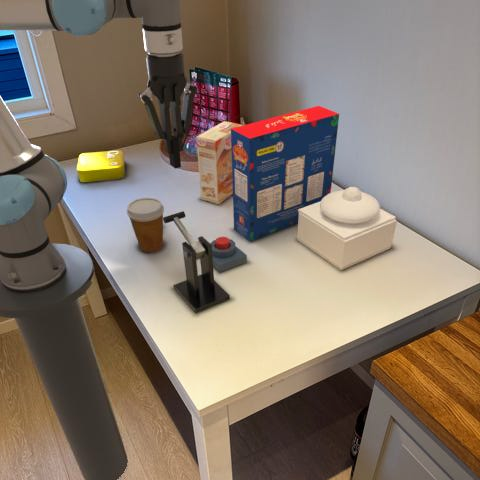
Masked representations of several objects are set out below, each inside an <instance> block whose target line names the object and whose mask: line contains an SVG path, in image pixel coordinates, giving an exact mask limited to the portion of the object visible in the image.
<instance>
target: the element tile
mask: <svg viewBox="0 0 480 480" xmlns="http://www.w3.org/2000/svg"><path fill="white" fill-rule="evenodd" d="M125 167H126V161H125V156H124V152H123V150H120V149H117V150H116V149H115V150H105V151H104V150H103V151H94V152H82V153H81V154H79V155H78V159H77V164H76V172H77V176H78V180H79V182H81V183H94V182H104V181H114V180H116V181H117V180H121V179H123V178H124V177H125V176H126V170H125V169H126V168H125Z"/></svg>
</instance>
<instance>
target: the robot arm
mask: <svg viewBox="0 0 480 480" xmlns="http://www.w3.org/2000/svg"><path fill="white" fill-rule="evenodd" d="M137 18H138V19H140V21H141V28H142V35H143V44H144V51H145V52H146V55H145V60H146V70H147V75H148V81H147V88H146V89H145V90H144V91H143V92H139V93H138V94H137V96H138V99H139V100H140V101H141V102H142V103H143V106H144V108H145V111H146V113H147V116H148V119H149V121H150V124H151V127H152V130H153V133H154V135H155V136H156V137H158V138H159V139H160V140H163V144H164V151H165V152H166V154H168V158H169V165H170V166H171V167H173V169H180V168H182V161H181V152H183V150H184V147H183V146H184V145H183V139H184V138H185V134H189V133H190V130H191V121H192V116H193V108H194V99H195V97H196V94H197V92H198V87H197V86H196V85H194V84H193V83H190V82H188V79H187V77H186V75H185V71H186V70H185V57H184V54H183V52H182V51H183V50H184V45H183V33H182V32H183V30H182V20H181V5H180V0H0V31H30V32H31V31H35V32H38V31H39V32H40V31H41V32H43V31H44V32H45V31H46V32H47V31H48V32H67V33H68V34H70V35H71V36H75V37H86V36H91V35H93V34H96V33H97V32H98V31H99V30H100V29H101V28H103V27H104V26H105V25H106V24H108V23H109V22H111V21H112V20H115V19H137ZM183 93H184V94H183ZM182 95H183V97H182ZM153 96H154V97H155V99H156V100H157V104H158V107H159V116H158V112H157V110H156V107H155V104H154V103H153V99H154V98H153ZM181 97H182V99H181ZM159 117H160V118H159ZM67 178H68V177H67V174H66V172H65V170H64V168H63V166H62V165H61V164H60V162H58V160H56V159H55V158H52V157H51V156H50V155H47V154H45V153H44V151H43V150H42V148H41V147H40V146H37V145H35V144H32V143H31V142H30V141H29V139H28V137H27V136H26V134H25V133H24V132H23V130H22V128H21V127H20V125H19V124H18V122H17V120H16V119H15V117H14V115H13V114H12V112H11V110H10V109H9V108H8V105H7V104H6V102H5V101H4V100H3V98H2V96H1V95H0V279H1V281H2V284H3V286H4V287H5V288H6V289H8V290H10V291H13V292H19V293H29V292H35V291H39V290H43V289H46V288H48V287H50V286H52V285H54V284H55V283H57V282H58V281H59V280H61V279H62V277H63V276H64V275H65V273H66V265H65V261H64V259H63V257H62V256H61V255H60V253H59V252H58V251H57V250H56V248H55V247H54V246H53V243H52V241H51V240H50V237H49V234H48V231H47V227H46V225H45V221H46V220H47V218H48V217H49V215H50V214H51V213H52V212H53V210H54V209H55V208H56V206H57V205H58V204H59V203H61V201H62V200H63V198H64V195H65V193H66V191H67V188H68V179H67Z"/></svg>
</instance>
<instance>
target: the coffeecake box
mask: <svg viewBox="0 0 480 480" xmlns="http://www.w3.org/2000/svg"><path fill="white" fill-rule="evenodd" d="M243 125H244V124H240V123H236V122H230V121H227V120H223V121H222V122H220V123H218V124H217V125H215V126H213V127H211V128H209V129H207V130H206V131H204V132H202V133H200V134H199V135H197V136H196V137H195V138H196V150H197V162H198V163H197V164H198V177H199V179H198V180H199V191H200V200H202V201H207V202H209V203H212V204H216V205H220V204H221V203H222V202H224V201H225V200H226V199H228V198H229V197H231V196H233V181H232V151H231V129H232V128H235V127H239V126H243Z"/></svg>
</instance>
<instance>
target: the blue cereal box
mask: <svg viewBox="0 0 480 480" xmlns="http://www.w3.org/2000/svg"><path fill="white" fill-rule="evenodd" d="M339 119H340V113H339V112H336V111H333V110H331V109H329V108H326V107H323V106H320V105H316V106H312V107H308V108H303V109H301V110H297V111H293V112H289V113H284V114H282V115H278V116H274V117H270V118H265V119H263V120H259V121H255V122H251V123H248V124H247V123H246V124H242V125H243V126H239V127H235V128H232V129H231V151H232V181H233V194H232V208H233V210H232V211H233V230H234V231H235V232H236V233H238V234H239V235H241V236H242V237H243V238H244V239H246V241H248V242H250V243H252V242H254V241H257V240H259V239H262V238H265V237H267V236H270V235H272V234H276V233H277V232H280V231H283V230H285V229H289V228H291V227H293V226H295V225H298V218H299V212H298V209H301V208H304V207H306V206H309V205H312V204H315V203H317V202H320V201H321V200H322V199H323V198H324V197H325V196H326V195H328V194H330V193H332V185H333V184H332V183H333V174H334V166H335V158H336V157H335V156H336V149H337V139H338V130H339Z"/></svg>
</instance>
